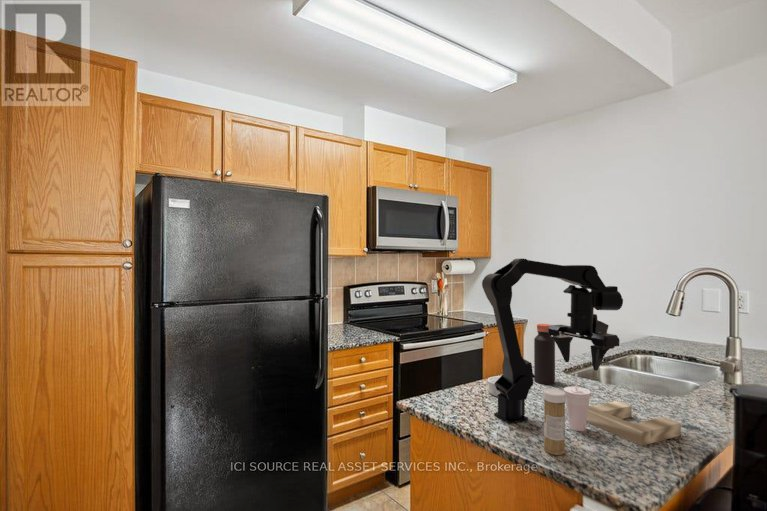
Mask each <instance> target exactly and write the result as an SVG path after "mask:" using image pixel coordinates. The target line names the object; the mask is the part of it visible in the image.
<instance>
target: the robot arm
mask: <svg viewBox="0 0 767 511" xmlns="http://www.w3.org/2000/svg"><path fill="white" fill-rule="evenodd" d="M598 272H599V271H598V270H597V269H596V267H595V266H593V265H589V264H588V265H587V264H571V265H570V264H568V265H566V264H565V265H561V264H555V263H549V262H543V261H536V260H529V259H527V258H515V259H512V261H510V262H509V263H508V264H506V265H505V266H503V267H501V268H499V269H498V270H496V271H495V272H493V273H489V274H487V275H485V276H484V278H483V279H482V281H481V287H482V289H483V292H484V295H485V297H486V299H487V300H488V302H489V304H490V305H491V306H492V309H493V314H494V318H495V323H496V327H497V331H498V335H499V340H500V345H501V349H502V353H503V362H502V366H501V367H502V369H501V370H502V375H501V376H499V377H500V378H499V379H498V380H497V381H496V382H495V387H496V389H497V390H498V391H499V392H501V393H500V394H498V397H497V412H494V414H493V415H494V416H495V417H497V418H499V419H501V420H502V421H504V422H506V423H508V424H513V423H518V422H523V421H528V420H529V417H527V416H525V413H526V412H525V411H526V408H525V406H526V405H525V404H526V403H525V402H526V401H525V400H527V398H528V396H529V392H530V390H531V388H532V387H533V386H534V378H535V376H534V370H533V365H532V362H530V361H528V360H527V359H525V358H523V355H522V352H521V347H520V343H519V339H518V338H519V337H518V335H517V329H516V326H515V320H514V317H513V313H512V308H511V303H512V298H513V286H515V285H516V284H517V283H519V281H520V279H522V278H523V277H524V276H525V274H529V275H536V276H540V277H541V276H542V277H546V278H552V279H553V278H555V279H558V280H561V281H563V282H565V283H568V284H569V285H568V287H567V288H565V289H564V290H563V291H562V292H563V293H564V294H569V295H570V312H567V313H566V314H567V315H566V316H567V317H569V318H570V325H566V324H550V325H551V326H550V327H549V329H548V335H551V336H552V339H554V340H555V345H556V346H557V348H558V349H559V351H560V353H561V356H562V357H563V360H564V362H565V363H569V362H570V354H571V342H572V341H573V339H574V338H578V339H581V340H582V339H583V340H587V341H591V343H592V345H590V353H591V361H592V362H591V363H592V367H593V371H596V372H597V371H598V370H599V368H600V366H601V364H602V361H603V359H604V357H605V355H606V353H607V352H608V351H610V350H611V349H614V348H615V347H620V338H619V337H618V335H617V334H612V333H608V329H609V327H610V326H609V324H607V323H605V322H602V321H600V320H598V315H597V314H596V313H595V312H594V309H595V310H596V311H619V310H621V308H622V306H623V302H624V299H623V296H622V295H621V293H620V291H618V289H619V288H618V286H615V285H608V286H606V284H605V283H604V281H603V280H602V278H601V277H600V276H599V273H598ZM577 286H579V287H577ZM589 290H590V291H589Z"/></svg>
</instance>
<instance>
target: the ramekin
mask: <svg viewBox="0 0 767 511" xmlns="http://www.w3.org/2000/svg"><path fill="white" fill-rule="evenodd" d="M500 377H501V376H490V377H488V378H487V383H488V392H489V394H491V395H492V396H495V397H497V398H498V394H500V393H501V392H499V391H498V390H497V389H496V387H495V382H496V381H497V380H498V379H499V378H500Z"/></svg>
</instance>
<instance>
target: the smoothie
mask: <svg viewBox="0 0 767 511" xmlns="http://www.w3.org/2000/svg"><path fill="white" fill-rule="evenodd" d="M578 377H579V376H578V373H574V386H566V387H565V386H564V388H563V392H565V396H566V401H565V404H566V405H565V407H566V413H567V419H568V420H567V421H568V426H569V429H570V430H572V431H575V432H585V431H586V428H587V427H586V426H587V422H586V421H587V414H588V406H590V405H589V404H590V398H591V397H592V391H590V390H589V389H587V388H584V387H580V386H578Z"/></svg>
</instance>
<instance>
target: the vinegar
mask: <svg viewBox="0 0 767 511" xmlns="http://www.w3.org/2000/svg"><path fill="white" fill-rule="evenodd" d="M551 325H552V324H548V323H538V324H536V331H537V335H536V336H535V337H534V340H533V341H534V342H533V344H534V347H533V348H534V351H533V353H534V354H533V355H534V356H533V358H534V360H533V364H534V368H533V374H534V376H535V378H533V381H535V383H537V384H540V385H553V384H555V382H556V342H555V340H554V339H552V335H548V329H549V327H550V326H551Z"/></svg>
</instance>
